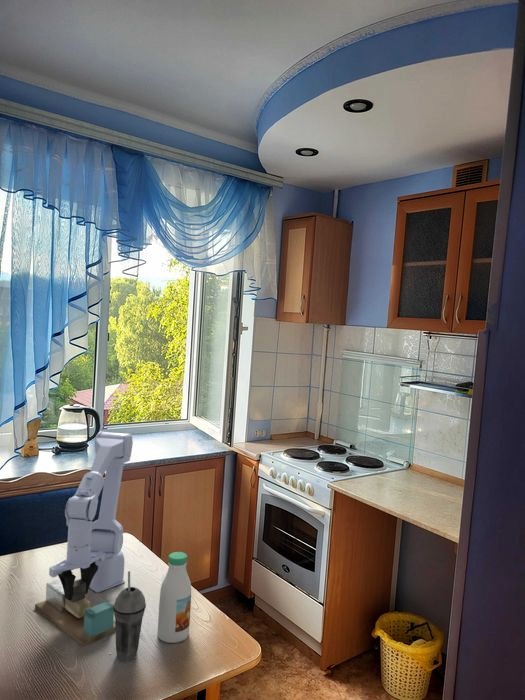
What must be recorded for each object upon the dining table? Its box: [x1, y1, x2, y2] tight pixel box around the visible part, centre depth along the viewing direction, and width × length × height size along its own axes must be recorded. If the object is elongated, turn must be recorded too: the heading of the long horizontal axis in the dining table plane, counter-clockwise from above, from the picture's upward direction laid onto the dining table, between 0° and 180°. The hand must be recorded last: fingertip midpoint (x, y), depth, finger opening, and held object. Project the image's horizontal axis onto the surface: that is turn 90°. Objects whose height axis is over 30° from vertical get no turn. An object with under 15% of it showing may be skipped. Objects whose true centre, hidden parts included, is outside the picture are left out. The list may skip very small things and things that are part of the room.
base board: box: [34, 599, 116, 647], centre depth 133 cm, size 10×23×1 cm, turn 50°
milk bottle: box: [157, 551, 192, 644], centre depth 128 cm, size 8×8×20 cm
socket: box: [84, 600, 115, 638], centre depth 126 cm, size 6×3×6 cm, turn 140°
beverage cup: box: [113, 570, 147, 663], centre depth 119 cm, size 7×7×20 cm
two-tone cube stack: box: [64, 578, 91, 618], centre depth 135 cm, size 4×14×7 cm, turn 50°
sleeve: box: [45, 578, 68, 613], centre depth 137 cm, size 5×8×5 cm, turn 50°
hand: (76, 595), depth 133 cm, fingers open, 4 cm apart
